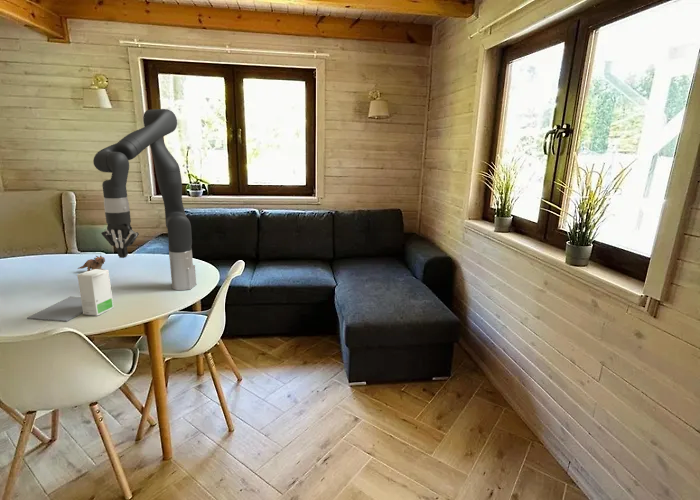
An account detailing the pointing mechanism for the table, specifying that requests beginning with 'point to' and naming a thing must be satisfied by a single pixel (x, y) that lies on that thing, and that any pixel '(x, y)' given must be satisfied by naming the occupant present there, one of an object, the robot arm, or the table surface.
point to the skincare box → (95, 291)
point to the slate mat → (60, 310)
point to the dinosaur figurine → (94, 263)
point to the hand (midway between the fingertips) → (123, 257)
